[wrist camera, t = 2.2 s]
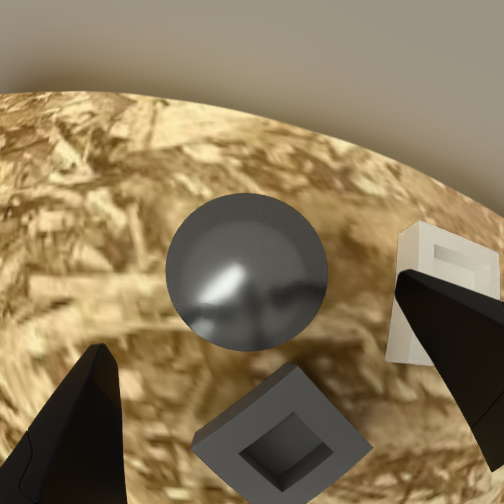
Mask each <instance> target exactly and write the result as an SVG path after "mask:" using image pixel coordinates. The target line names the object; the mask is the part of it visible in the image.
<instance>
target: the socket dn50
mask: <svg viewBox="0 0 504 504" xmlns="http://www.w3.org/2000/svg"><path fill="white" fill-rule="evenodd" d="M406 269H413V270H416V271H419V272H422V273H425V274H427V275H430V276H433V277H436V278H439V279H442V280H445V281H448V282H450V283H453V284H456V285H459V286H462V287H464V288H467V289H470V290H473V291H475V292H478V293H481V294H484V295H486V296H489V297H492V298H494V299H497V300H500V270H499V253H497V252H495V251H493V250H491V249H488V248H486V247H484V246H482V245H479V244H477V243H475V242H472V241H470V240H468V239H465V238H463V237H461V236H458V235H456V234H453V233H451V232H448V231H446V230H443V229H441V228H438V227H436V226H433V225H431V224H428V223H425V222H423V221H420V220H418V221H417V222H416V223H414V224H413V225H411V226H410V227H409V228H407V229H406V230H404V231H403V232H401V233H400V234H399V235H398V252H397V267H396V280H395V286H396V281H397V276H398V274H399V272H401V271H403V270H406ZM394 291H395V290H394ZM384 361H386V362H395V363H404V364H414V365H424V366H434V364H433V362H432V361H431V359H430V358H429V356H428V354H427V353H426V351H425V350H424V348H423V347H422V345H421V344H420V342H419V341H418V339H417V337H416V336H415V334H414V332H413V330H412V329H411V327H410V325H409V323H408V321H407V319H406V317H405V315H404V314H403V312H402V310H401V308H400V306H399V305H398V303H397V301H396V299H395V295H394V300H393V308H392V316H391V323H390V330H389V337H388V343H387V349H386V354H385V360H384Z"/></svg>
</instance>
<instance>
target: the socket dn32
mask: <svg viewBox="0 0 504 504" xmlns="http://www.w3.org/2000/svg"><path fill="white" fill-rule="evenodd" d="M372 448H373V447H372V446H371V445H370V444H369V442H368V441H367V440H366V439H365V438H364V437H363V436H362V435H361V434H360V433H359V432H358V431H357V430H356V429H355V428H354V427H353V426H352V425H351V424H350V423H349V421H348V420H347V419H346V418H345V417H344V416H343V415H342V414H341V413H340V412H339V411H338V410H337V409H336V407H335V406H334V405H333V404H332V403H331V402H330V401H329V400H328V399H327V398H326V397H325V395H324V394H323V393H322V392H321V391H320V390H319V389H318V388H317V387H316V386H315V384H314V383H313V382H312V381H311V380H310V379H309V378H308V377H307V376H306V374H305V373H304V372H303V371H302V370H301V369H300V368H299V367H298V366H297V365H294V364H291V363H288V362H286V363H285V364H284V365H282V366H281V367H280V368H279V369H278V370H277V371H275V372H274V373H273V374H272V375H271V376H269V377H268V378H267V379H266V380H265V381H263V382H262V383H261V384H260V385H258V386H257V387H256V388H255V389H253V390H252V391H251V392H250V393H248V394H247V395H246V396H245V397H243V398H242V399H241V400H239V401H238V402H237V403H235V404H234V405H233V406H231V407H230V408H229V409H227V410H226V411H225V412H223V413H222V414H221V415H219V416H218V417H217V418H215V419H214V420H212V421H211V422H210V423H208V424H207V425H205V426H204V427H203V428H201V429H200V430H198V431H197V432H195V435H194V438H193V441H192V444H191V447H190V449H191V450H192V451H193V452H194V453H195V454H196V455H197V456H198V457H199V458H200V459H201V460H202V461H203V462H204V463H205V464H206V465H207V466H208V467H209V468H210V469H211V470H212V471H214V472H215V473H216V474H217V475H218V476H219V477H220V478H221V479H222V480H223V481H225V482H226V483H227V484H228V485H229V486H230V487H232V488H233V489H234V490H235V491H236V492H238V493H239V494H240V495H241V496H242V497H244V498H245V499H246V500H247V501H249V502H250V503H251V504H306V503H307V502H309V501H310V500H312V499H313V498H314V497H316V496H317V495H318V494H320V493H321V492H322V491H324V490H325V489H326V488H328V487H329V486H330V485H331V484H333V483H334V482H335V481H336V480H338V479H339V478H340V477H341V476H343V475H344V474H345V473H346V472H347V471H348V470H350V469H351V468H352V467H353V466H354V465H355V464H356V463H357V462H359V461H360V460H361V459H362V458H363V457H364V456H365V455H366V454H367V453H368V452H369V451H370V450H371V449H372Z"/></svg>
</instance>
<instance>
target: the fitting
mask: <svg viewBox="0 0 504 504" xmlns="http://www.w3.org/2000/svg"><path fill="white" fill-rule="evenodd" d="M327 280H328V265H327V259H326V254H325V251H324V248H323V245H322V243H321V241H320V238H319V236H318V235H317V233H316V231H315V230H314V228H313V227H312V226H311V224H310V223H309V222H308V221H307V220H306V219H305V218H304V217H303V216H302V215H301V214H300V213H299V212H298V211H296V210H295V209H294V208H292V207H291V206H289V205H287V204H286V203H284V202H282V201H280V200H277V199H275V198H272V197H269V196H265V195H260V194H253V193H238V194H231V195H225V196H222V197H219V198H216V199H214V200H212V201H209V202H207V203H205V204H204V205H202V206H201V207H199V208H198V209H196V210H195V211H194V212H193V213H191V214H190V215H189V216H188V217H187V218H186V219H185V220H184V222H183V223H182V224H181V226H180V227H179V228H178V230H177V232H176V233H175V235H174V237H173V239H172V242H171V244H170V247H169V250H168V254H167V259H166V282H167V288H168V292H169V295H170V298H171V301H172V303H173V305H174V307H175V309H176V311H177V312H178V314H179V315H180V317H181V318H182V320H183V321H184V322H185V323H186V324H187V325H188V326H189V328H191V329H192V330H193V331H194V332H195V333H196V334H198V335H199V336H201V337H202V338H204V339H205V340H207V341H209V342H211V343H213V344H215V345H217V346H220V347H223V348H227V349H231V350H237V351H259V350H265V349H269V348H273V347H276V346H278V345H281V344H283V343H285V342H287V341H289V340H290V339H292V338H294V337H295V336H296V335H298V334H299V333H300V332H301V331H303V330H304V329H305V328H306V326H307V325H308V324H309V323H310V322H311V321H312V319H313V318H314V317H315V315H316V314H317V312H318V310H319V308H320V306H321V304H322V301H323V299H324V296H325V292H326V288H327Z"/></svg>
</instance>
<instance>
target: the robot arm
mask: <svg viewBox="0 0 504 504" xmlns="http://www.w3.org/2000/svg"><path fill="white" fill-rule="evenodd" d="M394 295H395V299H396V301H397V303H398V305H399V306H400V308H401V310H402V312H403V314H404V315H405V317H406V319H407V321H408V323H409V325H410V327H411V329H412V330H413V332H414V334H415V336H416V337H417V339H418V341H419V342H420V344H421V345H422V347H423V348H424V350H425V351H426V353H427V354H428V356H429V358H430V359H431V361H432V362H433V364H434V366H435V367H436V369H437V371H438V372H439V374H440V375H441V377H442V379H443V380H444V382H445V384H446V386H447V387H448V389H449V391H450V392H451V394H452V396H453V398H454V399H455V401H456V403H457V405H458V406H459V408H460V410H461V412H462V414H463V416H464V417H465V419H466V421H467V423H468V425H469V427H470V428H471V431H472V433H473V435H474V437H475V439H476V441H477V443H478V445H479V447H480V449H481V451H482V453H483V455H484V457H485V460H486V462H487V464H488V466H489V468H490V470H491V472H494V471H495V470H497V469H498V468H500V467H501V466H503V465H504V302H503V301H502V302H501V301H500V300H497V299H494V298H492V297H489V296H486V295H484V294H481V293H478V292H475V291H473V290H470V289H467V288H464V287H462V286H459V285H456V284H453V283H450V282H448V281H445V280H442V279H439V278H436V277H433V276H430V275H427V274H425V273H422V272H419V271H416V270H413V269H406V270H403V271H401V272H399V274H398V276H397V281H396V286H395V291H394ZM0 504H128V503H127V495H126V485H125V473H124V458H123V433H122V407H121V398H120V387H119V375H118V366H117V363H116V360H115V359H114V357H113V356H112V354H111V352H110V351H109V349H108V347H107V346H106V344H104V343H95V344H91V345H90V346H89V347H88V348H87V350H86V351H85V352H84V354H83V355H82V356H81V357H80V359H79V360H78V361H77V362H76V364H75V365H74V366H73V368H72V369H71V370H70V371H69V373H68V374H67V375H66V377H65V378H64V379H63V381H62V382H61V383H60V385H59V386H58V387H57V389H56V390H55V391H54V393H53V394H52V395H51V397H50V398H49V400H48V401H47V402H46V404H45V405H44V406H43V408H42V409H41V411H40V412H39V413H38V415H37V416H36V418H35V419H34V421H33V422H32V423H31V425H30V426H29V428H28V431H26V432H25V434H24V435H23V437H22V438H21V440H20V441H19V442H18V444H17V445H16V447H15V448H14V450H13V451H12V453H11V454H10V455H9V457H8V458H7V459H6V461H5V462H4V463H3V465H2V466H1V467H0Z"/></svg>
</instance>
